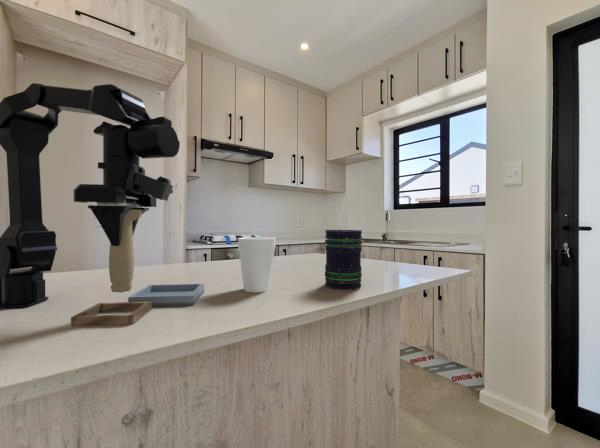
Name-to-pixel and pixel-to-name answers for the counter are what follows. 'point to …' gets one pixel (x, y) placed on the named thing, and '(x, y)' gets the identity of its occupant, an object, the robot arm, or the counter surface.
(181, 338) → the counter surface
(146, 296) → the tray
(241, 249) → the foam cup
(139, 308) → the brown square frame
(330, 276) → the storage jar
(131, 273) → the handle
